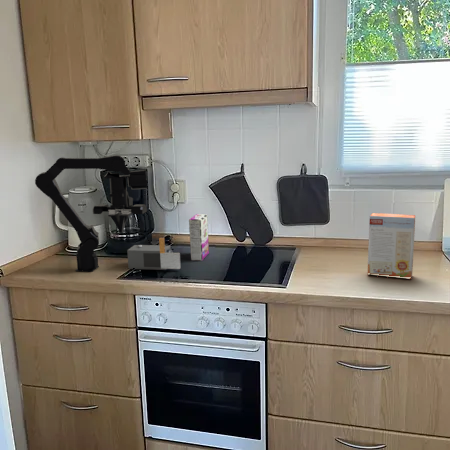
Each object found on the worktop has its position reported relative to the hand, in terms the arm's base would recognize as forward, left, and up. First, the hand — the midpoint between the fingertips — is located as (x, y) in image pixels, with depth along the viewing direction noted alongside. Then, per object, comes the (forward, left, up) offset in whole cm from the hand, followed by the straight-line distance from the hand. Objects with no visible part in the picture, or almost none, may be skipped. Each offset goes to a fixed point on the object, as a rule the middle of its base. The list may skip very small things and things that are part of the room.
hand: (121, 232), depth 173 cm
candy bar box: (+26, +15, -13) cm, 33 cm away
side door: (+19, -4, -13) cm, 23 cm away
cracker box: (+95, -3, -13) cm, 96 cm away
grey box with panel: (+10, +1, -13) cm, 16 cm away
